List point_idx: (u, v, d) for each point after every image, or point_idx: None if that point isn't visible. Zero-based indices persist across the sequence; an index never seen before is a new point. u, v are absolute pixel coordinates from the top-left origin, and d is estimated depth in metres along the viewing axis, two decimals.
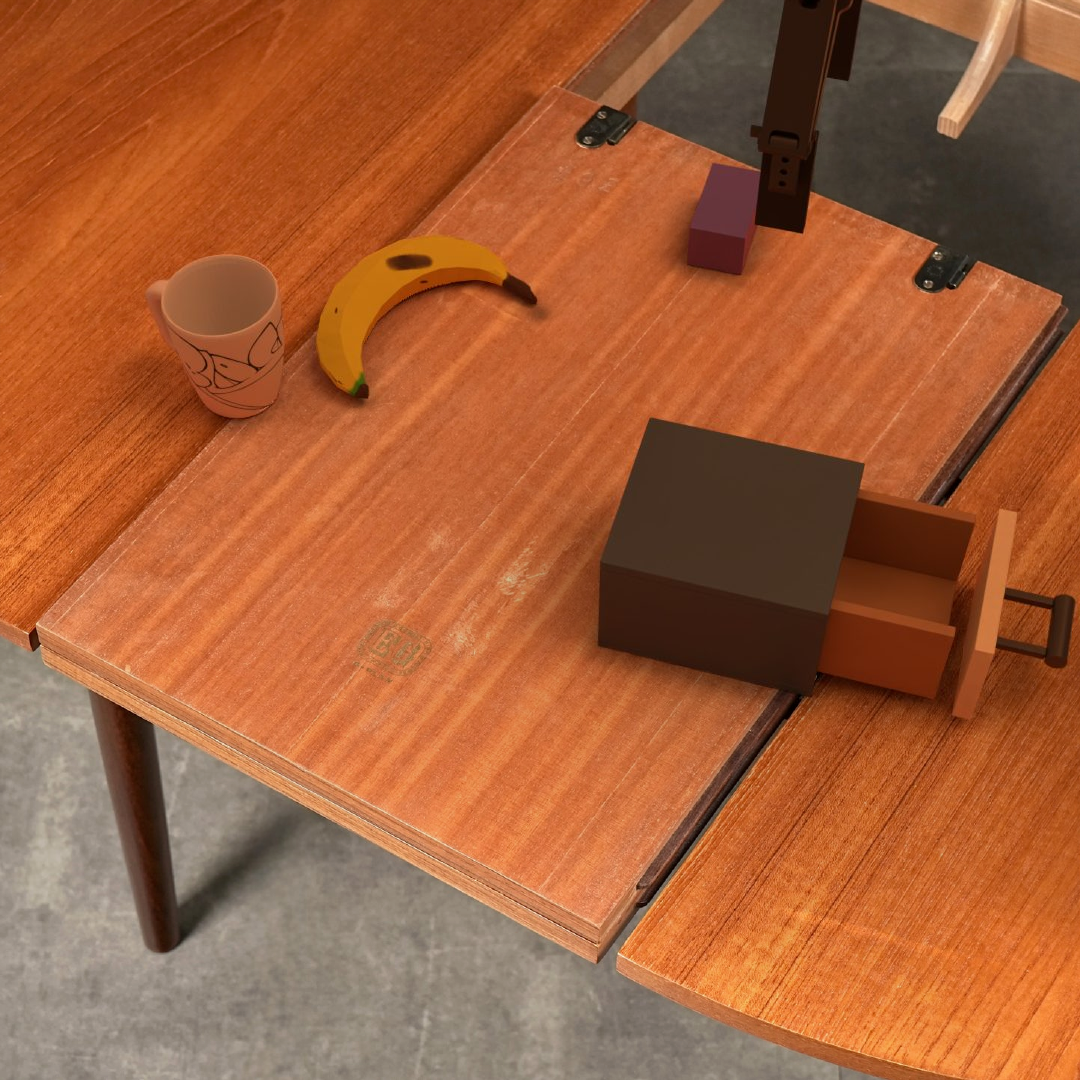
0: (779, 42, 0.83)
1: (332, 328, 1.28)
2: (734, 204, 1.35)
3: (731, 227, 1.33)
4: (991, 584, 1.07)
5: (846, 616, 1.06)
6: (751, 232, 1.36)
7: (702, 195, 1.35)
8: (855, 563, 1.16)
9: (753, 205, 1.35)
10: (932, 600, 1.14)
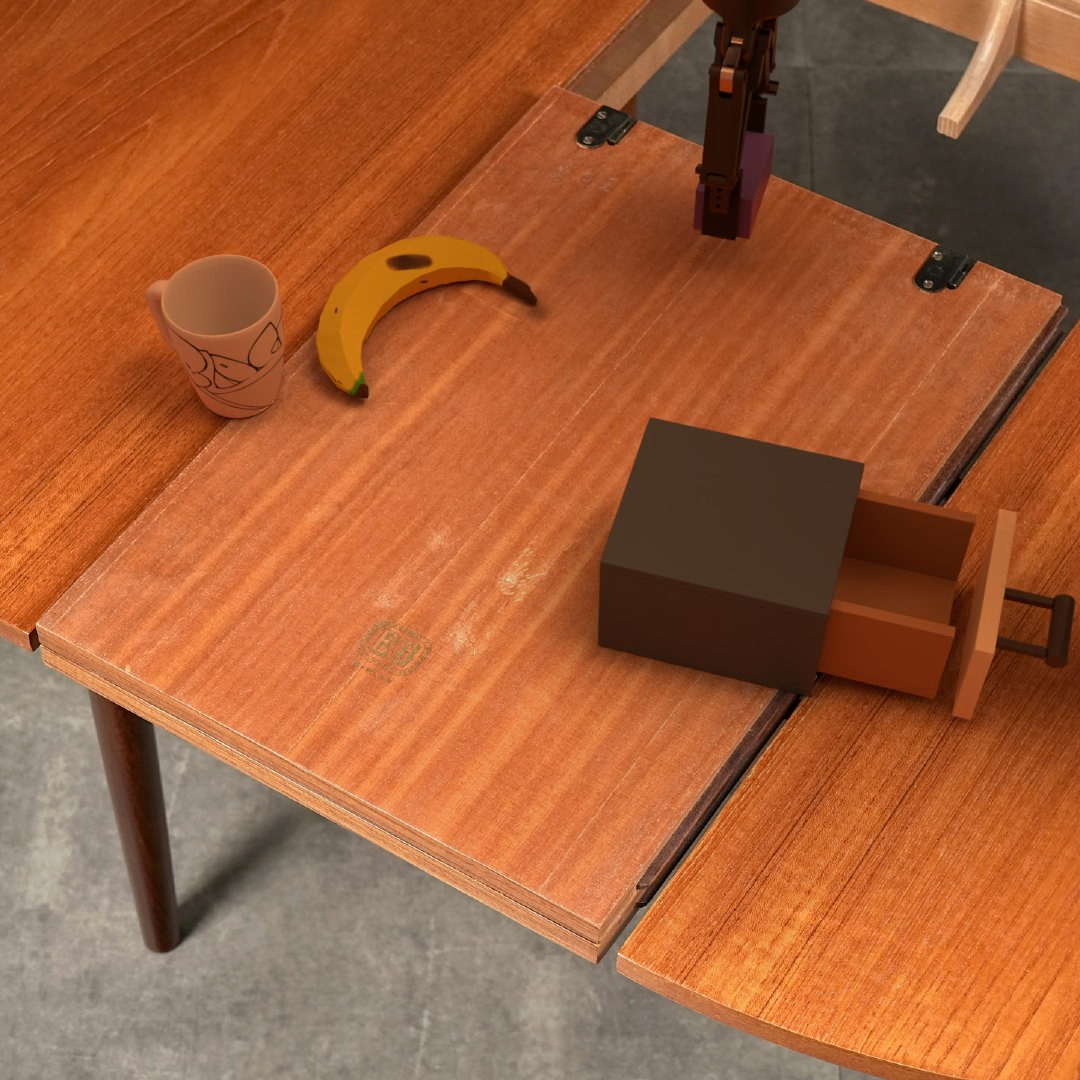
0: (707, 119, 1.21)
1: (332, 328, 1.28)
2: (741, 167, 1.31)
3: None
4: (991, 584, 1.07)
5: (846, 616, 1.06)
6: (759, 195, 1.32)
7: None
8: (855, 563, 1.16)
9: (761, 167, 1.31)
10: (932, 600, 1.14)
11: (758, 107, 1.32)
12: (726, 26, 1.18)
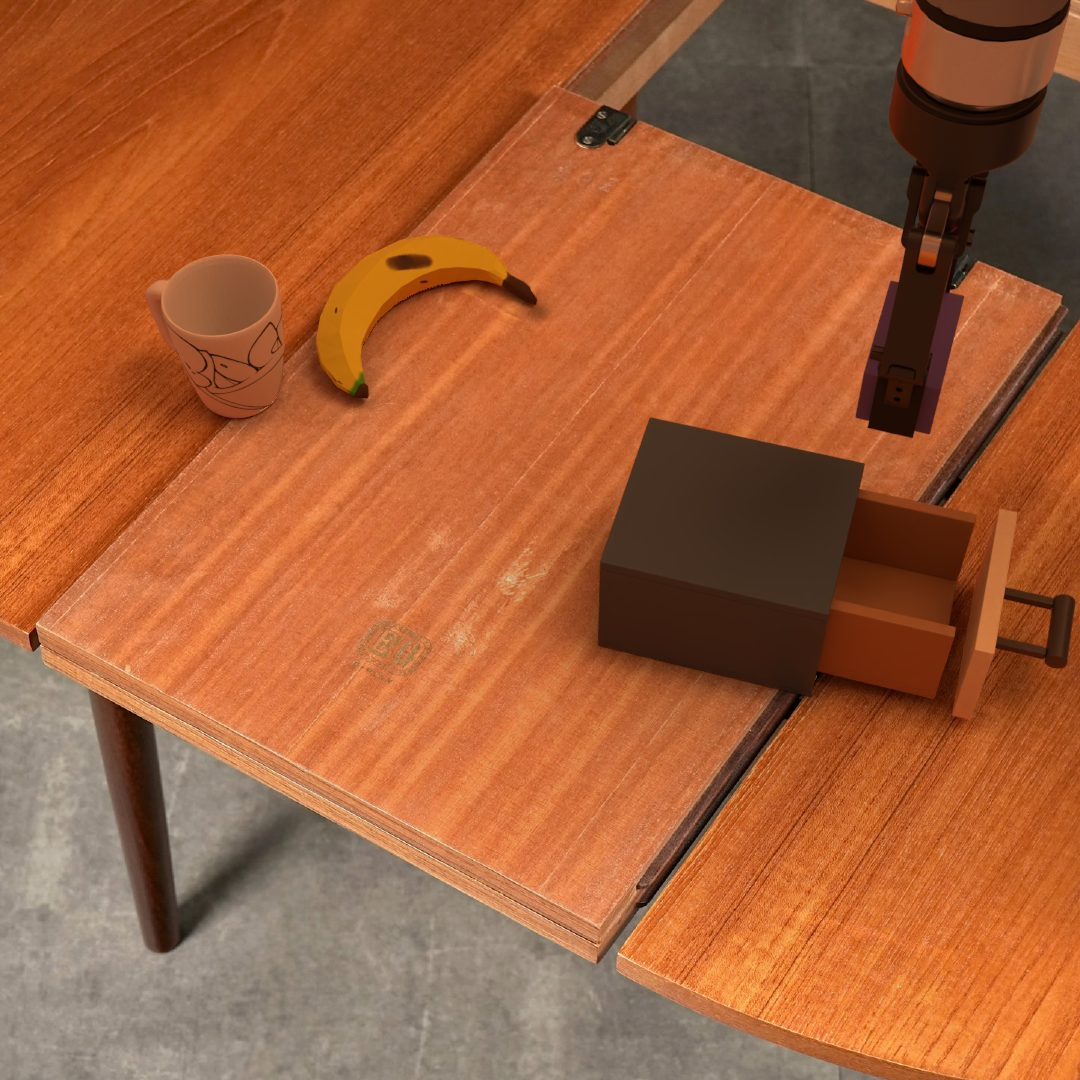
0: (897, 298, 0.89)
1: (332, 328, 1.28)
2: None
3: None
4: (991, 584, 1.07)
5: (846, 616, 1.06)
6: None
7: (879, 327, 1.01)
8: (855, 563, 1.16)
9: (948, 342, 1.00)
10: (932, 600, 1.14)
11: None
12: (930, 178, 0.87)
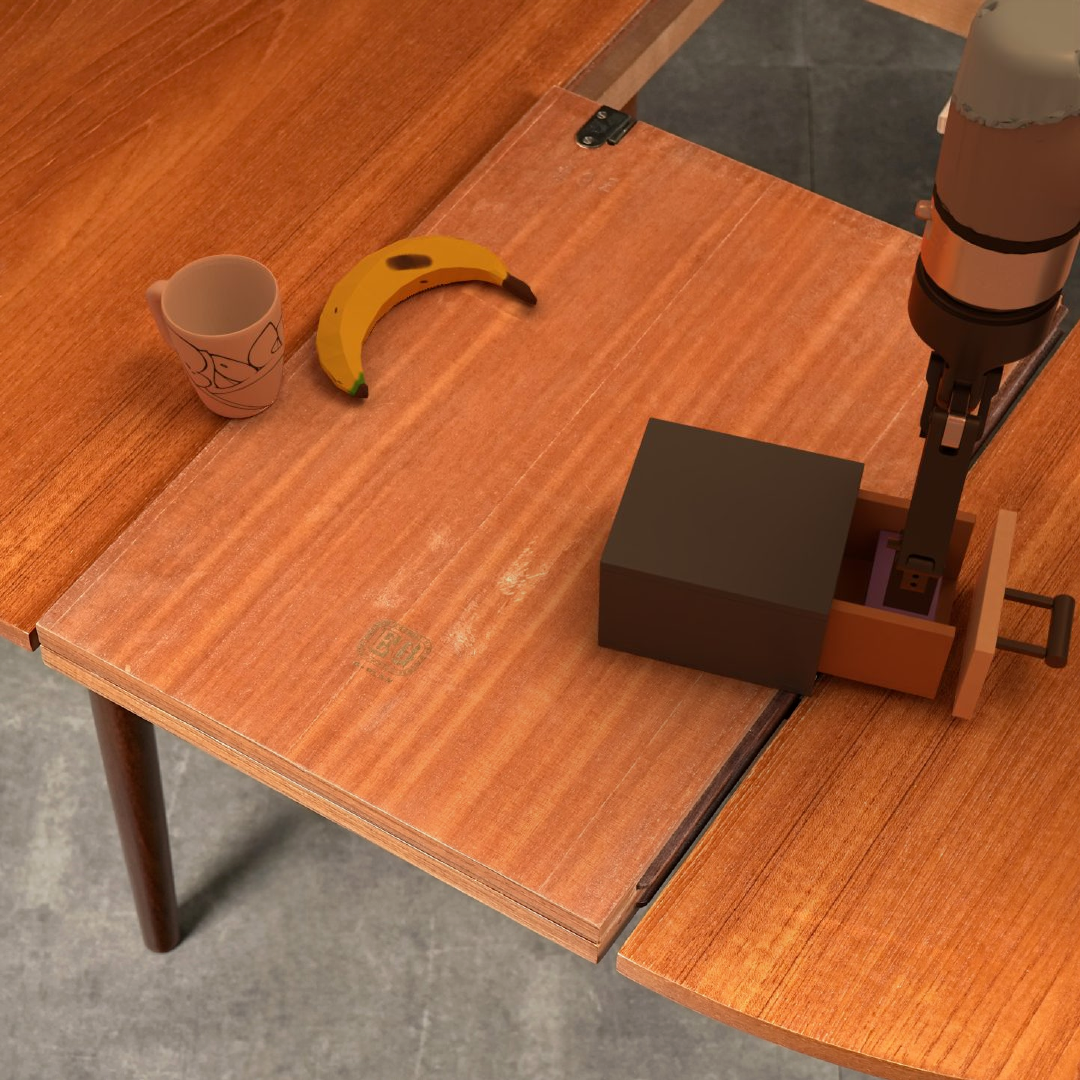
0: (919, 481, 0.90)
1: (332, 328, 1.28)
2: None
3: None
4: (991, 584, 1.07)
5: (846, 616, 1.06)
6: None
7: (872, 578, 1.10)
8: (855, 563, 1.16)
9: (935, 592, 1.09)
10: None
11: None
12: (950, 370, 0.89)
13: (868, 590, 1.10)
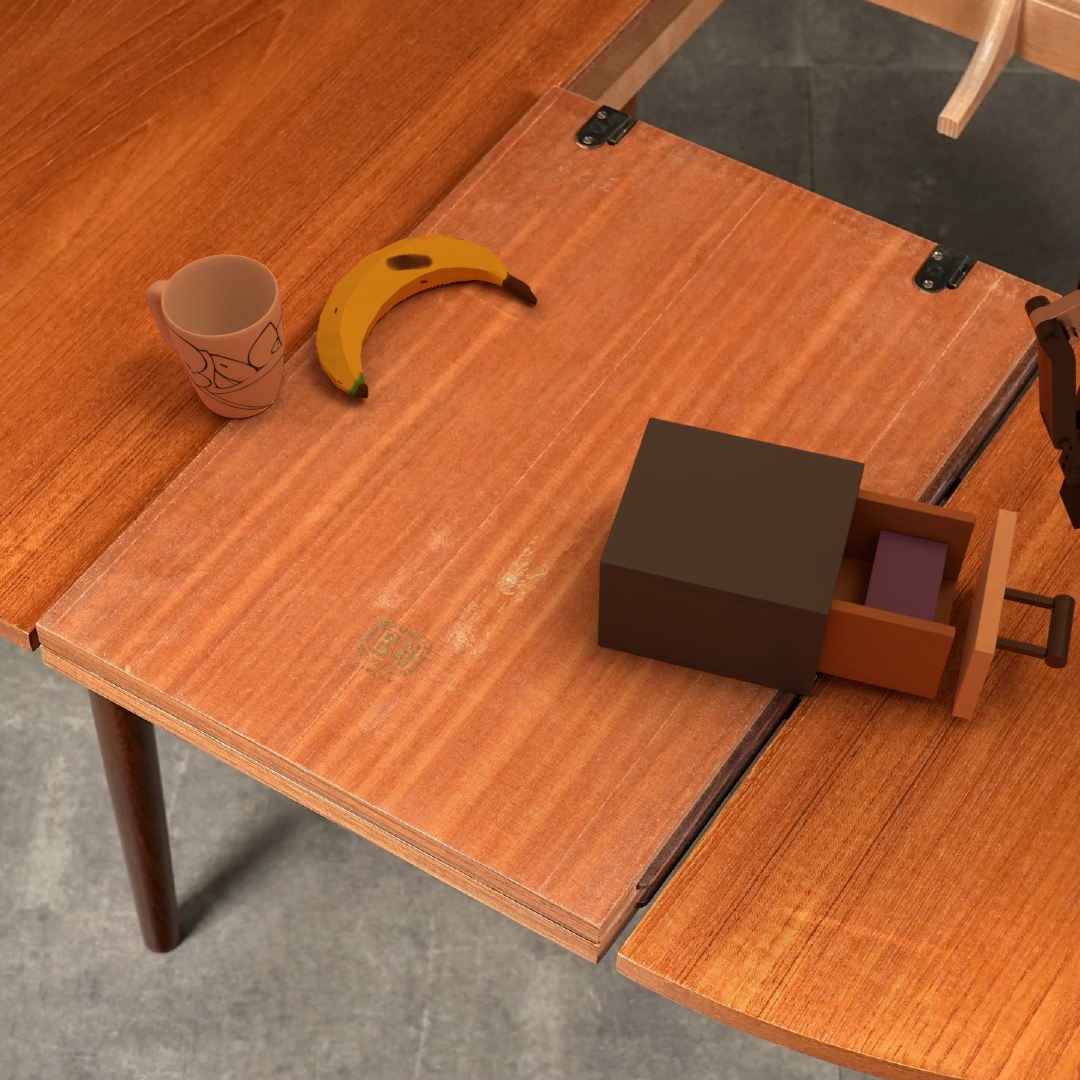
0: (1038, 353, 0.87)
1: (332, 328, 1.28)
2: (912, 591, 1.10)
3: None
4: (991, 584, 1.07)
5: (846, 616, 1.06)
6: None
7: (872, 578, 1.10)
8: (855, 563, 1.16)
9: (935, 592, 1.09)
10: None
11: None
12: None
13: (868, 590, 1.10)
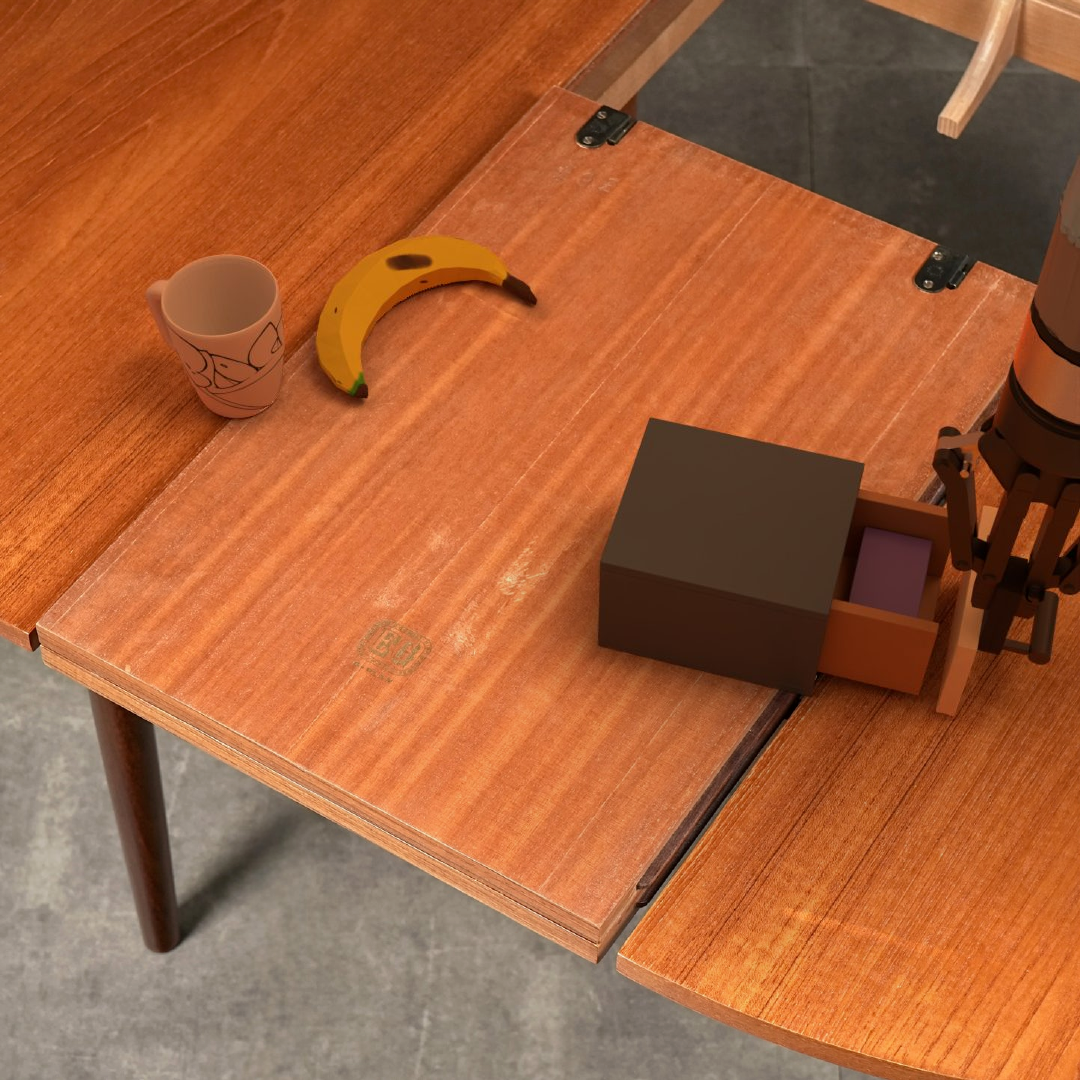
0: None
1: (332, 328, 1.28)
2: (896, 587, 1.10)
3: None
4: (974, 580, 1.07)
5: (830, 612, 1.06)
6: None
7: (856, 574, 1.10)
8: None
9: (919, 589, 1.10)
10: None
11: None
12: None
13: (852, 586, 1.10)
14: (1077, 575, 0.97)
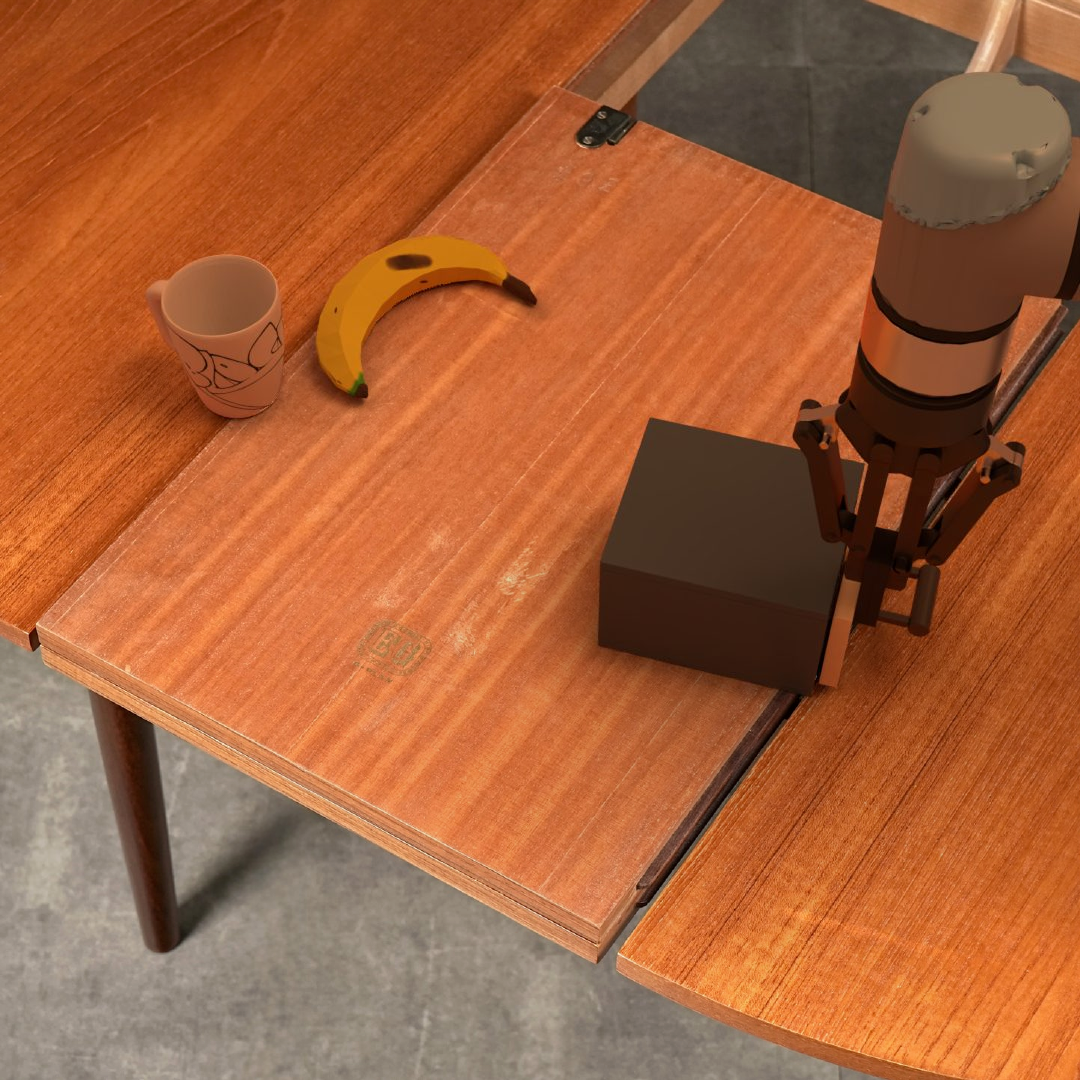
0: None
1: (332, 328, 1.28)
2: None
3: None
4: None
5: None
6: None
7: None
8: None
9: None
10: None
11: None
12: None
13: None
14: (941, 546, 0.99)
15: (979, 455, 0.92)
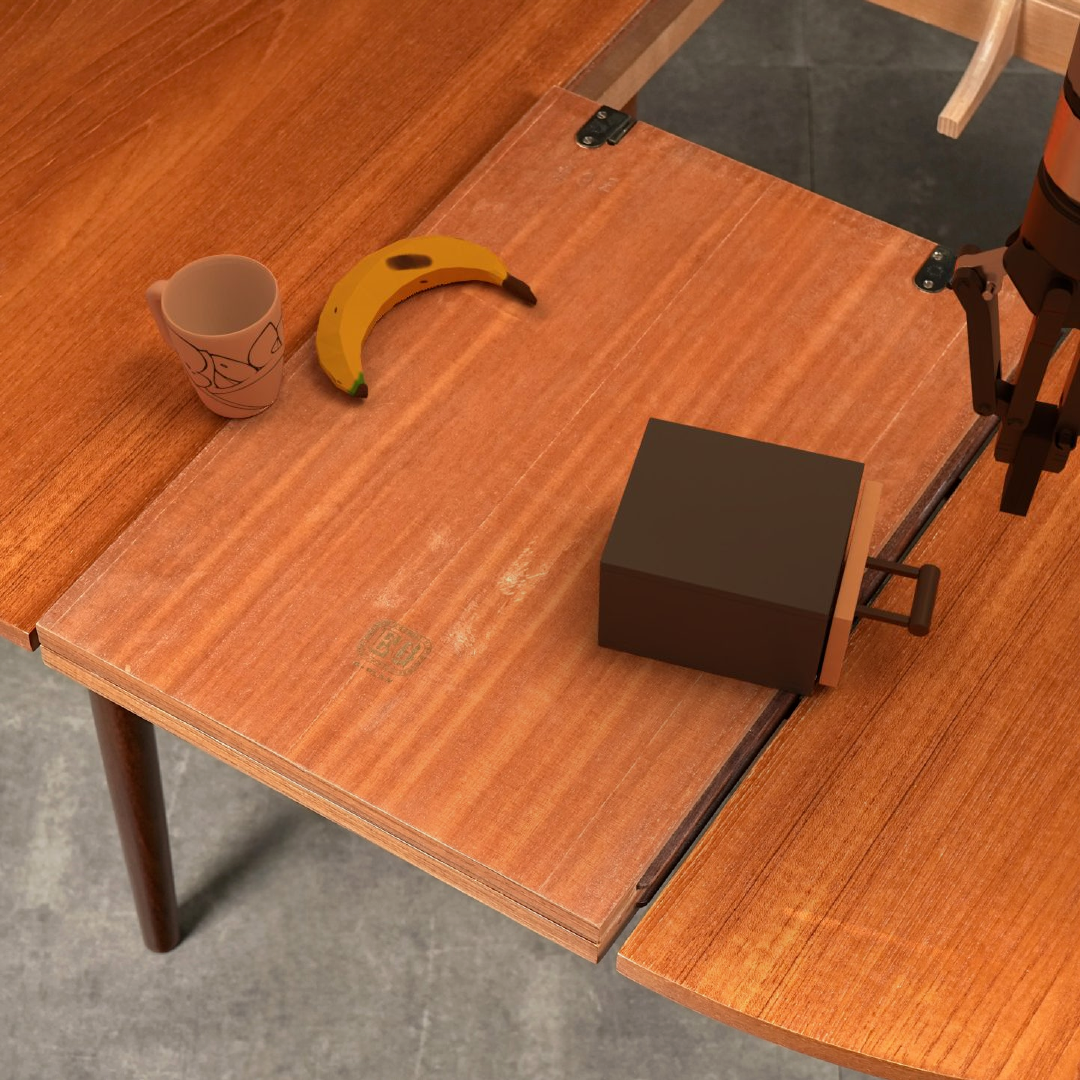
0: None
1: (332, 327, 1.28)
2: None
3: None
4: (853, 553, 1.08)
5: None
6: None
7: None
8: None
9: None
10: None
11: None
12: None
13: None
14: None
15: None
